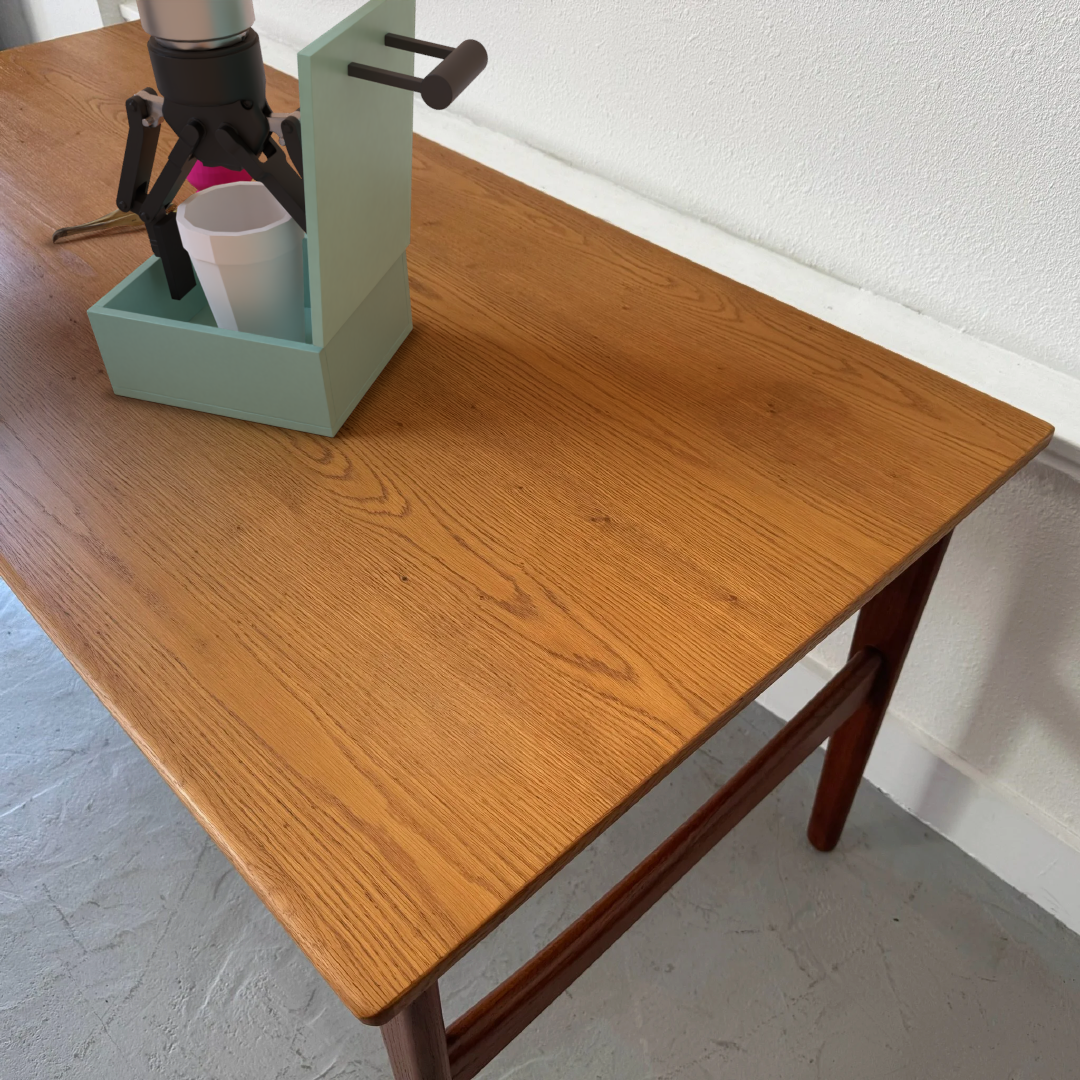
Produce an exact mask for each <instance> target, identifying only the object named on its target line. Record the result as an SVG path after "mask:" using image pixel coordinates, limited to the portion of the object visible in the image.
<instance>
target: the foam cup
mask: <svg viewBox="0 0 1080 1080" xmlns="http://www.w3.org/2000/svg"><path fill="white" fill-rule="evenodd" d="M176 209H177V215H176V221H177V225H178V228H179V232H180V236H181V240H182V244H183V247H184V248H185V249H186V250H187V251H188V253H189V256H190V258H191V261H192V263H193V266H194V268H195V271H196V273H197V276H198V278H199V281H200V283H201V286H202V288H203V291H204V293H205V295H206V298H207V300H208V303H209V305H210V308H211V310H212V313H213V315H214V318H215V320H216V323H217V325H218V328H222V329H228V330H233V331H239V332H245V333H250V334H256V335H262V336H267V337H273V338H278V339H284V340H290V341H295V342H301V343H305V316H304V283H303V250H302V239H303V238H304V237H305V235H304V233H305V232H304V231H303V230H302V228H301V227H300V226H299V225H298V224H297V223H296V221H295V220H294V219H293V218H292V217H291V216H290V215H289V213H288V212H287V211H286V210H285V209H284V208H283V206H282V205H281V204H280V203H279V202H278V201H277V200H276V198H275V197H274V196H273V195H272V194H271V193H270V191H269V190H268V189H267V188H266V187H265V186H264V184H263V183H261V182H257V181H251V182H249V181H239V182H233V183H227V184H221V185H215V186H212V187H209V188H207V189H204V190H202V191H199V192H197V193H196V192H195V193H192V194H190V195H189V196H188V197H187V198H186V199H184V200H183V201H182V202H181V203H180V204H178V205H177V207H176Z"/></svg>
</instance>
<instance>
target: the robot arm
mask: <svg viewBox="0 0 1080 1080" xmlns="http://www.w3.org/2000/svg"><path fill="white" fill-rule="evenodd" d="M253 1H254V0H135V2H136V7H137V11H138V16H139V20H140V25H141V28H142V30H143V31H144V32H145V33H146V34H148V35H149V38H148V40H147V42H146V47H147V52H148V56H149V60H150V64H151V68H152V73H153V76H154V80H155V85H156V89H157V91H158V92H157V91H156V90H155V89H154V88H153V87H150V86H147V87H144V88H143V89H141V90H139V91H138V92H136V93H134V94H133V95H132V96H130V97H129V98H127V99H126V100H125V103H124V106H125V112H126V118H127V122H128V124H127V125H128V132H127V138H126V143H125V149H124V154H123V159H122V165H121V171H120V176H119V180H118V181H119V182H118V186H117V187H118V188H117V194H116V199H115V205H116V207H117V209H119V210H121V211H122V212H129V211H131V212H133V213H135V214H137V215H139V218H140V219H141V220H142V221H143V222H144V223H145V224H144V225H145V229H146V233H147V237H148V239H149V244H150V248H151V251H152V253H153V254H154V255H155V256H156V257H160V258H161V260H162V264H163V268H164V272H165V275H166V279H167V283H168V287H169V291H170V294H171V298H172V299H174V300H181V299H182V298H183V297H184V296H185V295H186V294H187V293H188V292H190V291H191V290H192V289H193V288H194V287H195V286H196V285H197V284H196V280H195V276H194V272H193V268H192V264H191V260H190V256H189V253H188V251H187V250H186V249H185V248H184V247H183V244H182V240H181V236H180V232H179V228H178V225H177V221H176V215H177V212H173V210H170V211H169V212H168V213H167V211H168V208H169V207H171V206H172V205H173V204H171V203H173V201H174V200H175V198H176V196H177V195H178V193H179V191H180V189H181V188H182V186H183V184H184V183H185V182H186V180H187V179H186V178H187V176H188V175H189V173H190V171H191V170H192V168H193V167H194V165H195V163H196V162H197V160H199V161H200V162H202V164H203V166H206V167H218V166H222V167H224V168H227V169H229V170H233V171H239V172H241V171H242V170H243V169H245V170H246V171H247V173H248V174H249V175H250V176H251V177H252V178H253V179H252V180H253V181H254V182H261V183H263V184H264V186H265V187H266V188H267V189H268V190H269V191H270V193H271V194H272V195H273V196H274V197H275V198H276V200H277V201H278V202H279V203H280V204H281V205H282V206H283V208H284V209H285V210H286V211H287V212H288V213H289V215H290V216H291V217H292V218H293V219H294V220H295V221H296V223H297V224H298V225H299V226H300V227H301V228H302V230H303V231H304V233H306V234H307V228H306V210H305V191H304V173H303V155H302V137H301V119H300V107H298V108H297V109H295V110H294V111H293V112H274V111H273V110H272V108H271V106H270V105H269V102H268V100H267V95H266V93H267V91H266V90H267V77H266V70H265V64H264V60H263V54H262V47H261V41H260V36H259V34H258V32H257V31H256V30H255V29H254V28H253V25H254V24H255V22H256V15H255V7H254V2H253ZM158 93H159V94H160V95H158ZM164 121H165V122H166V124H167V125H168V126H169V127H170V129H171V130H172V131H173V132H174V134H175V135H176V136H177V140H176V142H175V144H174V145H173V148H171V150H170V152H169V154H168V155H167V159H168V160H167V161H166V163H165V164H164V166H163V168H162V170H161V171H160V173H159V175H158V177H157V178H156V180H155V182H154V184H153V185H152V187H151V189H150V191H149V188H150V187H149V186H150V182H151V177H152V173H153V167H154V163H155V158H156V153H157V148H158V143H159V138H160V133H161V128H162V123H163V122H164ZM273 133H274V134H275V135H277V137H278V143H279V144H278V143H277V142H276V141H275V139H274V138H273V137H272V135H273ZM281 146H282V147H285V148H286V152H287V153H286V152H285V151H284V150H283V148H282V147H281ZM262 154H263V155H264V156H265V157H266V160H265V161H261V160H260V157H261V156H262ZM287 154H288V156H289V159H290V162H291V163H292V165H293V166H294V168H295V169H294V168H293V167H292V166H291V164H290V163H289V162H288V160H287ZM170 204H171V205H170Z"/></svg>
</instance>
